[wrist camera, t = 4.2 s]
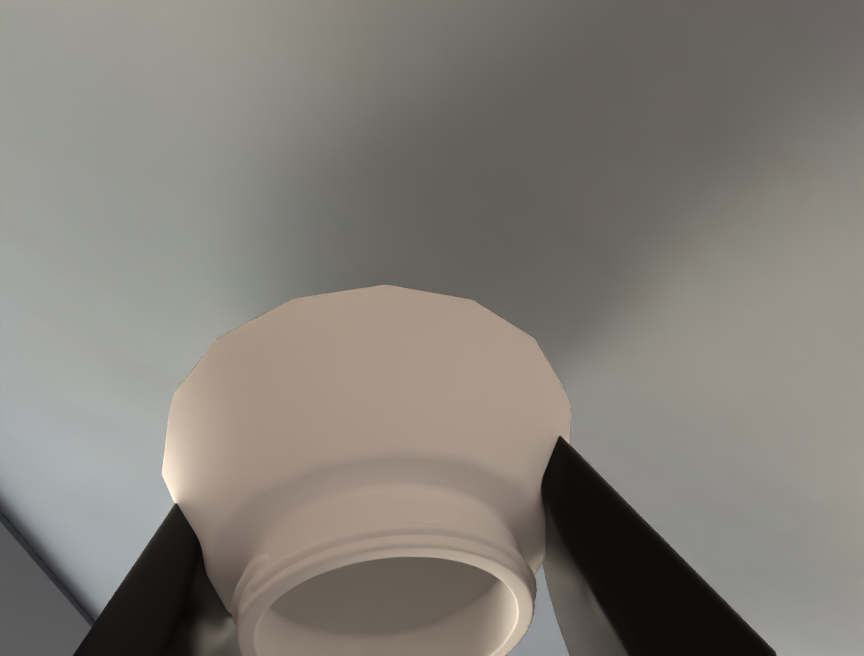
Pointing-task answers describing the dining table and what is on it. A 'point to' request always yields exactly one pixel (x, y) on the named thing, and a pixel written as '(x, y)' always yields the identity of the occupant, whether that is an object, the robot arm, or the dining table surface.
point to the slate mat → (35, 604)
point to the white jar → (369, 474)
